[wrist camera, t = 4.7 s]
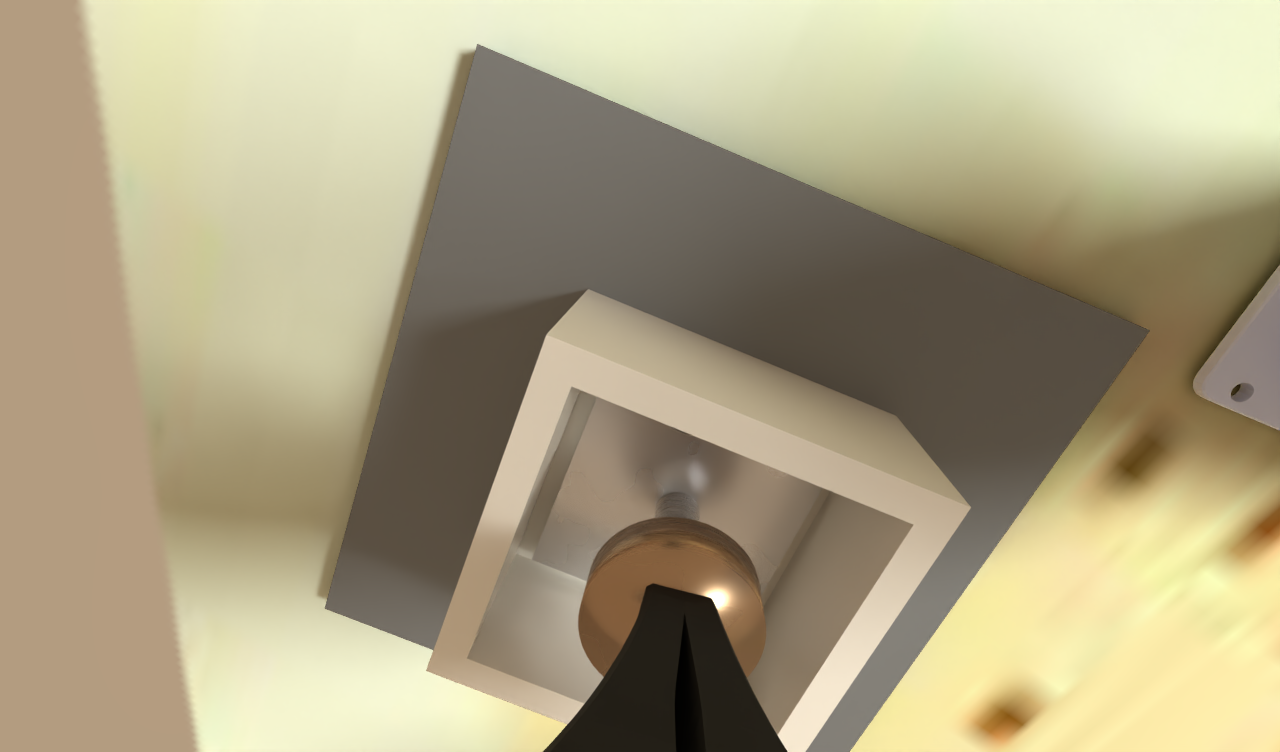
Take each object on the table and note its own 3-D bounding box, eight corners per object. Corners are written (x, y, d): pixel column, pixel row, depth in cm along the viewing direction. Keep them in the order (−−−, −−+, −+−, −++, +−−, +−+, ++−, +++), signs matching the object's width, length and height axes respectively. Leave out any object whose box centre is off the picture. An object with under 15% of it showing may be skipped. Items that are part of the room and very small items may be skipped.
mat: (1133, 324, 16) (1149, 330, 15) (814, 780, 22) (817, 796, 21) (485, 48, 15) (477, 44, 15) (334, 596, 21) (324, 608, 20)
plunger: (836, 449, 16) (894, 566, 11) (735, 627, 18) (748, 789, 14) (612, 358, 16) (576, 439, 11) (535, 549, 18) (477, 686, 13)
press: (896, 415, 17) (971, 507, 12) (753, 655, 20) (771, 801, 15) (588, 288, 16) (546, 334, 12) (490, 552, 19) (426, 670, 15)
